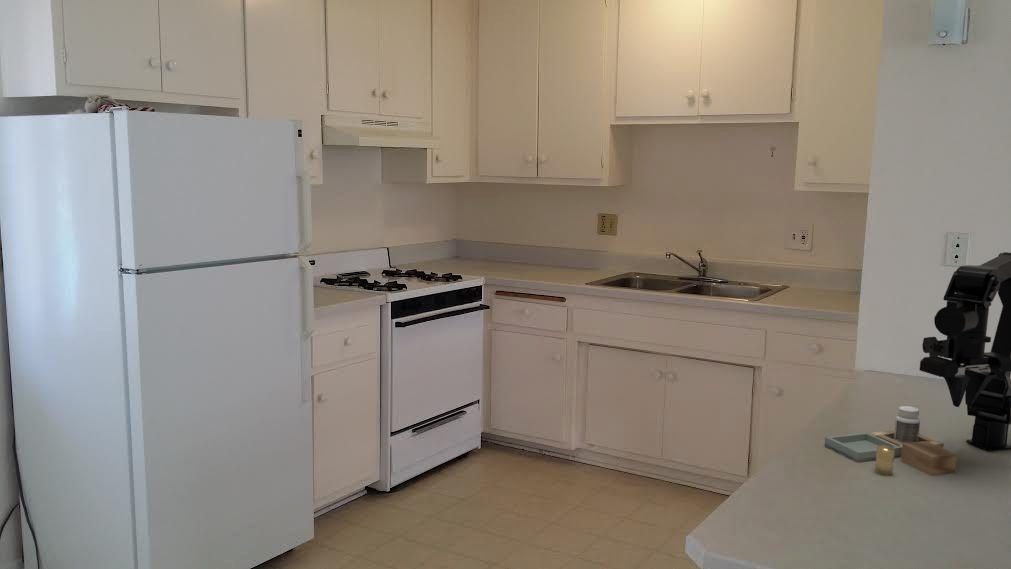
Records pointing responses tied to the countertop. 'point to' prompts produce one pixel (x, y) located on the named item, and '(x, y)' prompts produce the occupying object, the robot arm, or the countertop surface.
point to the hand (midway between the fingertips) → (962, 405)
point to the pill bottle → (907, 425)
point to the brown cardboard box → (928, 458)
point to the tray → (859, 446)
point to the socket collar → (890, 438)
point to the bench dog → (884, 460)
